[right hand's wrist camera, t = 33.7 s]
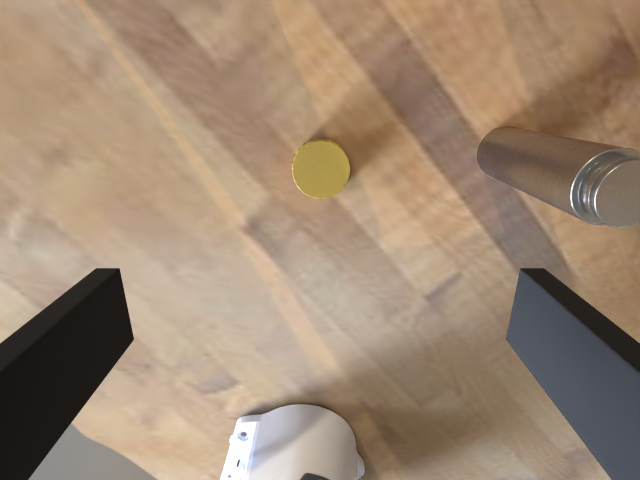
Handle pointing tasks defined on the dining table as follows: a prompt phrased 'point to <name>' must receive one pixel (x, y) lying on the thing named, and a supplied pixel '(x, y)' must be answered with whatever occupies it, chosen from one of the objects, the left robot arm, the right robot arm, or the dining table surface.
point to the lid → (321, 168)
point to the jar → (567, 173)
